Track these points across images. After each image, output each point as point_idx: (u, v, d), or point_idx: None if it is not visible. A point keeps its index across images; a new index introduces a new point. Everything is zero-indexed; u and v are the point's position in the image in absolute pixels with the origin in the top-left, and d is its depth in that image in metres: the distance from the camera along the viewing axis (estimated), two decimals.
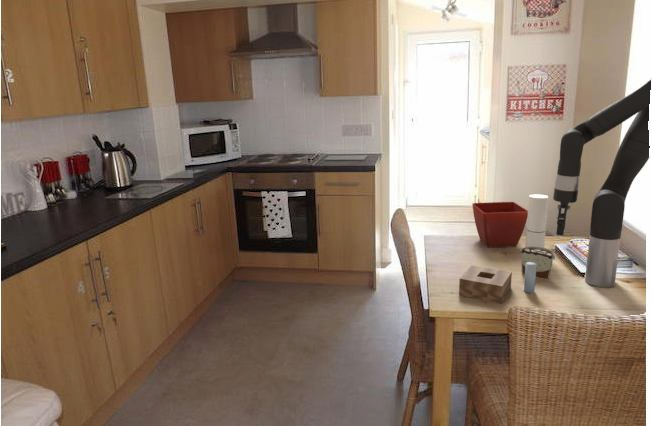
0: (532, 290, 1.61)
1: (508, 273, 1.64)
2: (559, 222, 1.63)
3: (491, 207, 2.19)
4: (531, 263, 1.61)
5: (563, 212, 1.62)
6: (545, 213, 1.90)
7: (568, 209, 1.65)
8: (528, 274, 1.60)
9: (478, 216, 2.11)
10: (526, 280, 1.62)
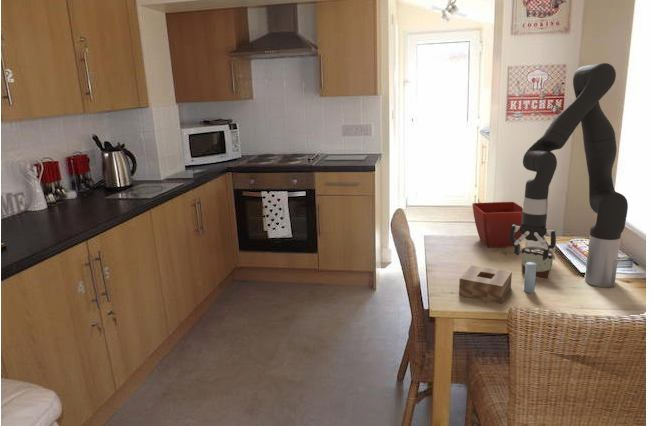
0: (532, 290, 1.61)
1: (508, 273, 1.64)
2: (554, 246, 1.55)
3: (491, 207, 2.19)
4: (531, 263, 1.61)
5: (555, 234, 1.55)
6: None
7: None
8: (528, 274, 1.60)
9: (478, 216, 2.11)
10: (526, 280, 1.62)
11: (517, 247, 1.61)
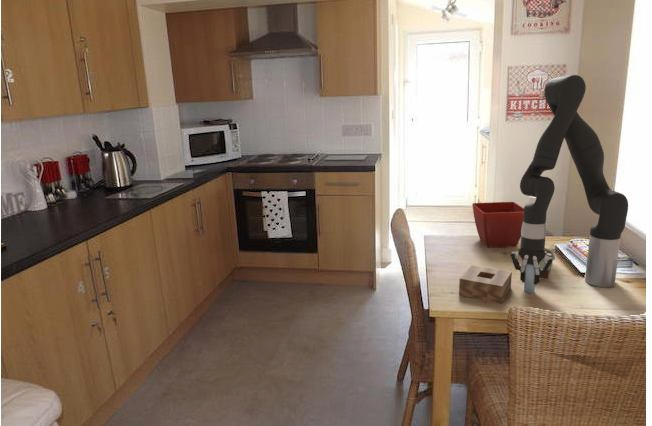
0: (532, 290, 1.61)
1: (508, 273, 1.64)
2: (545, 271, 1.58)
3: (491, 207, 2.19)
4: None
5: (551, 262, 1.57)
6: None
7: None
8: (528, 274, 1.60)
9: (478, 216, 2.11)
10: (526, 280, 1.61)
11: (523, 274, 1.62)
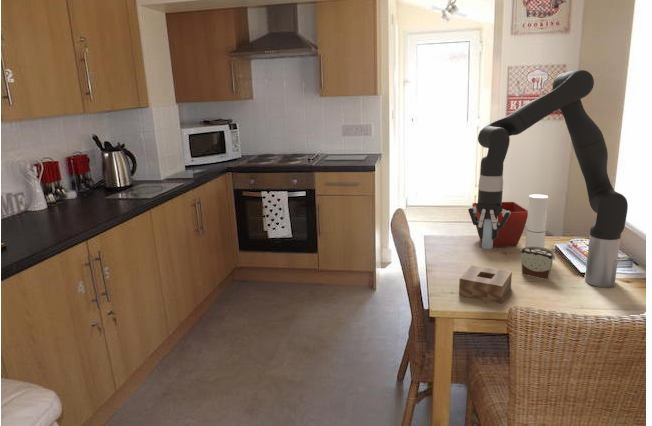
0: (490, 245, 1.59)
1: (508, 273, 1.64)
2: (502, 225, 1.56)
3: None
4: None
5: (508, 216, 1.55)
6: (545, 213, 1.90)
7: None
8: (486, 229, 1.58)
9: (478, 216, 2.11)
10: (484, 235, 1.59)
11: (481, 229, 1.59)
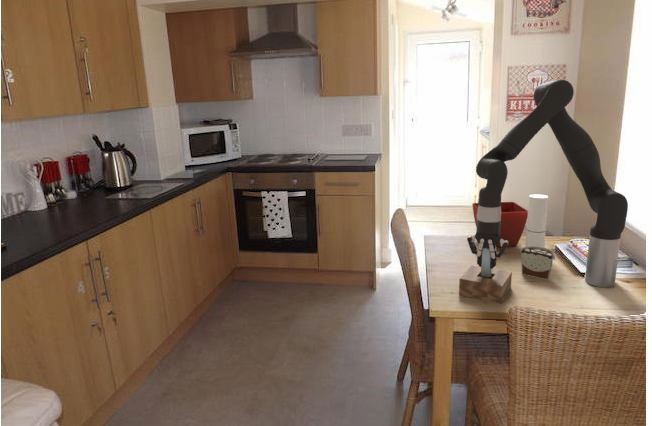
0: (489, 274, 1.61)
1: (508, 273, 1.64)
2: None
3: None
4: None
5: (506, 246, 1.57)
6: (545, 213, 1.90)
7: None
8: (484, 258, 1.60)
9: None
10: (482, 264, 1.61)
11: (480, 258, 1.62)
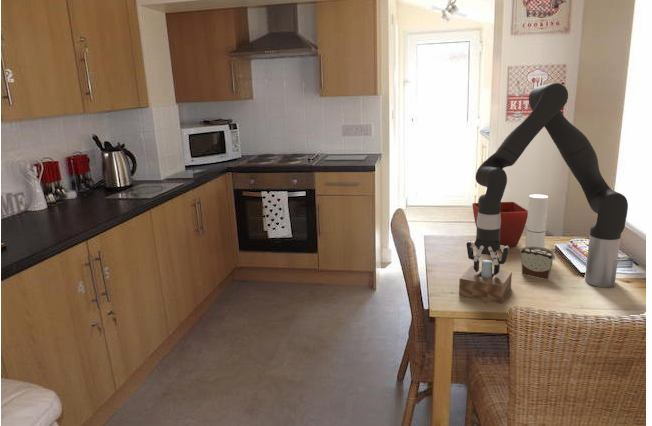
0: None
1: (508, 273, 1.64)
2: None
3: None
4: (487, 261, 1.62)
5: (507, 251, 1.57)
6: (545, 213, 1.90)
7: None
8: (484, 271, 1.61)
9: None
10: None
11: (476, 263, 1.63)
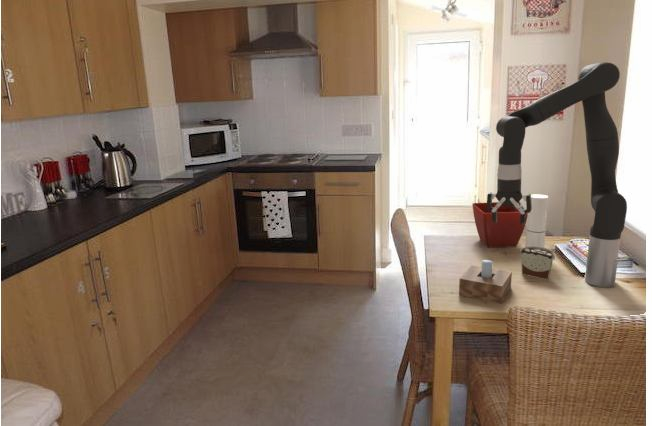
0: None
1: (508, 273, 1.64)
2: (530, 210, 1.58)
3: None
4: (487, 261, 1.62)
5: (530, 198, 1.58)
6: (545, 213, 1.90)
7: None
8: (484, 271, 1.61)
9: (478, 216, 2.11)
10: None
11: (495, 214, 1.64)
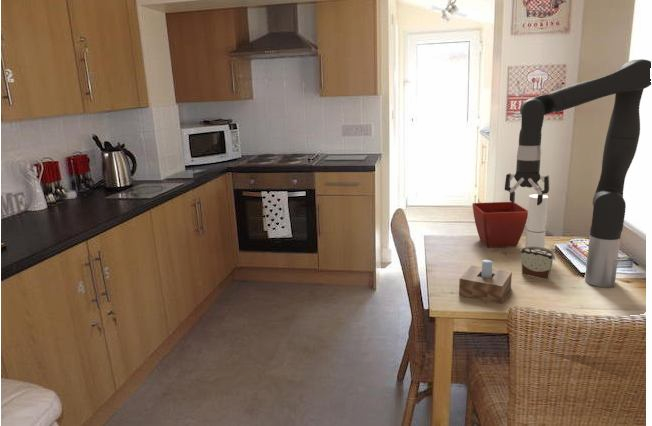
0: None
1: (508, 273, 1.64)
2: (548, 190, 1.62)
3: (491, 207, 2.19)
4: (487, 261, 1.62)
5: (548, 180, 1.62)
6: (545, 213, 1.90)
7: None
8: (484, 271, 1.61)
9: (478, 216, 2.11)
10: None
11: (512, 194, 1.68)
